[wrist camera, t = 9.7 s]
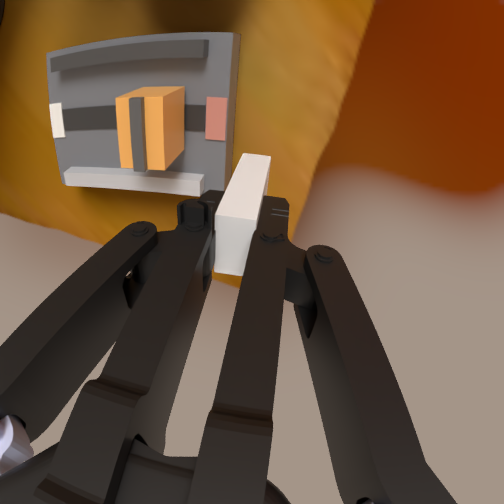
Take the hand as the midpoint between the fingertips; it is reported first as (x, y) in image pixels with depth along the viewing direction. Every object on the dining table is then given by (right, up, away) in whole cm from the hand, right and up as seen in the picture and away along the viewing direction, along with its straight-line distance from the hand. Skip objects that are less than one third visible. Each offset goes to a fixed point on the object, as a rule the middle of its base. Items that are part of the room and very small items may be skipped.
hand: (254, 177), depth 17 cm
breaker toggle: (-8, +8, +9) cm, 14 cm away
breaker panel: (-12, +11, +12) cm, 21 cm away
